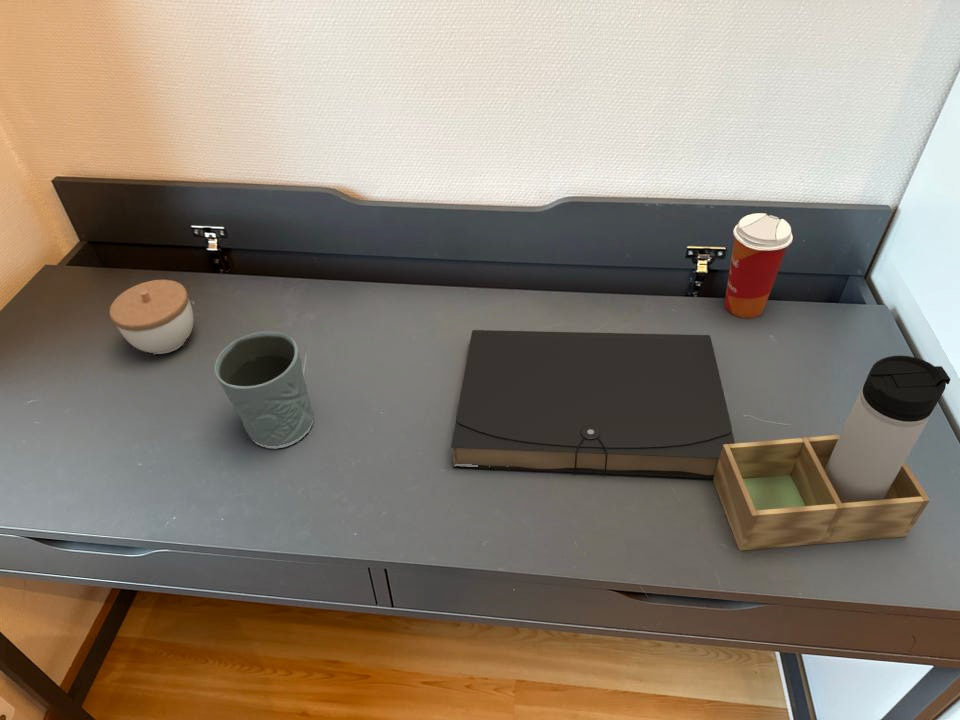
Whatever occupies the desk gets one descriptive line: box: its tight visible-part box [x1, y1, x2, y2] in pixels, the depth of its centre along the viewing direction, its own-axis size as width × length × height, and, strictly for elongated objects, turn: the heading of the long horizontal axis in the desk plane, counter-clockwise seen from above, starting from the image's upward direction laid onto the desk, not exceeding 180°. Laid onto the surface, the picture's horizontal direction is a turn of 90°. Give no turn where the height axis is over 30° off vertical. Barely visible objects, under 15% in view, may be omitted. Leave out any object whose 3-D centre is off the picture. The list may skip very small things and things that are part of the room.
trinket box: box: [109, 279, 195, 354], centre depth 103 cm, size 11×11×9 cm
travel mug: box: [824, 355, 951, 503], centre depth 72 cm, size 6×7×20 cm
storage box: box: [712, 434, 931, 552], centre depth 77 cm, size 18×9×7 cm, turn 94°
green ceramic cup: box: [213, 331, 314, 446], centre depth 89 cm, size 10×10×12 cm
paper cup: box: [724, 212, 794, 319], centre depth 100 cm, size 8×8×14 cm
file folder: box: [450, 329, 736, 479], centre depth 92 cm, size 33×4×24 cm
